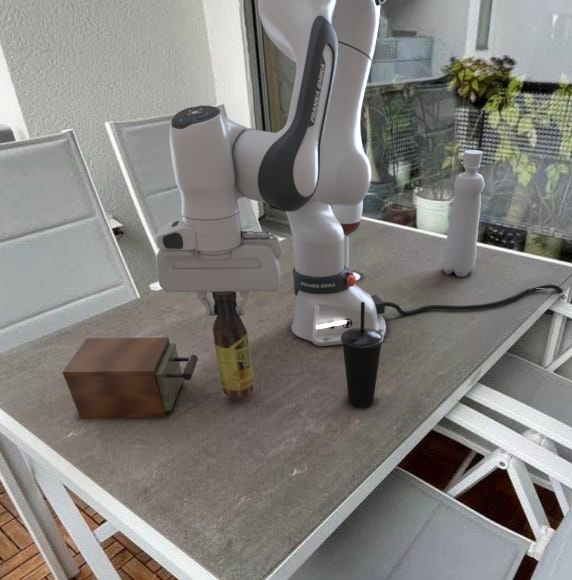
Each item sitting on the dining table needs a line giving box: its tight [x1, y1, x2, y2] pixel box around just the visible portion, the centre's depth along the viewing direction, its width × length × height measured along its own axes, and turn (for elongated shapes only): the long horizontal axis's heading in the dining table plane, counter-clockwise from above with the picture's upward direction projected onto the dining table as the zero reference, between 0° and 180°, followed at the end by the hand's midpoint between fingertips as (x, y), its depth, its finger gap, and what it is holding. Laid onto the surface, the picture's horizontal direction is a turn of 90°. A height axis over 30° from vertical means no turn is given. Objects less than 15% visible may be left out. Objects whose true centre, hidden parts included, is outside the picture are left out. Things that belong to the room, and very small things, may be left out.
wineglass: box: [331, 199, 364, 281], centre depth 147 cm, size 8×9×20 cm
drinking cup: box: [341, 302, 384, 409], centre depth 100 cm, size 8×8×20 cm
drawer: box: [155, 342, 199, 412], centre depth 104 cm, size 19×12×8 cm, turn 92°
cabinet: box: [62, 336, 171, 419], centre depth 104 cm, size 16×13×10 cm
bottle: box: [441, 149, 486, 278], centre depth 147 cm, size 9×9×30 cm
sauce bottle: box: [211, 292, 255, 399], centre depth 100 cm, size 6×6×20 cm
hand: (226, 314), depth 96 cm, fingers closed on sauce bottle, 4 cm apart
